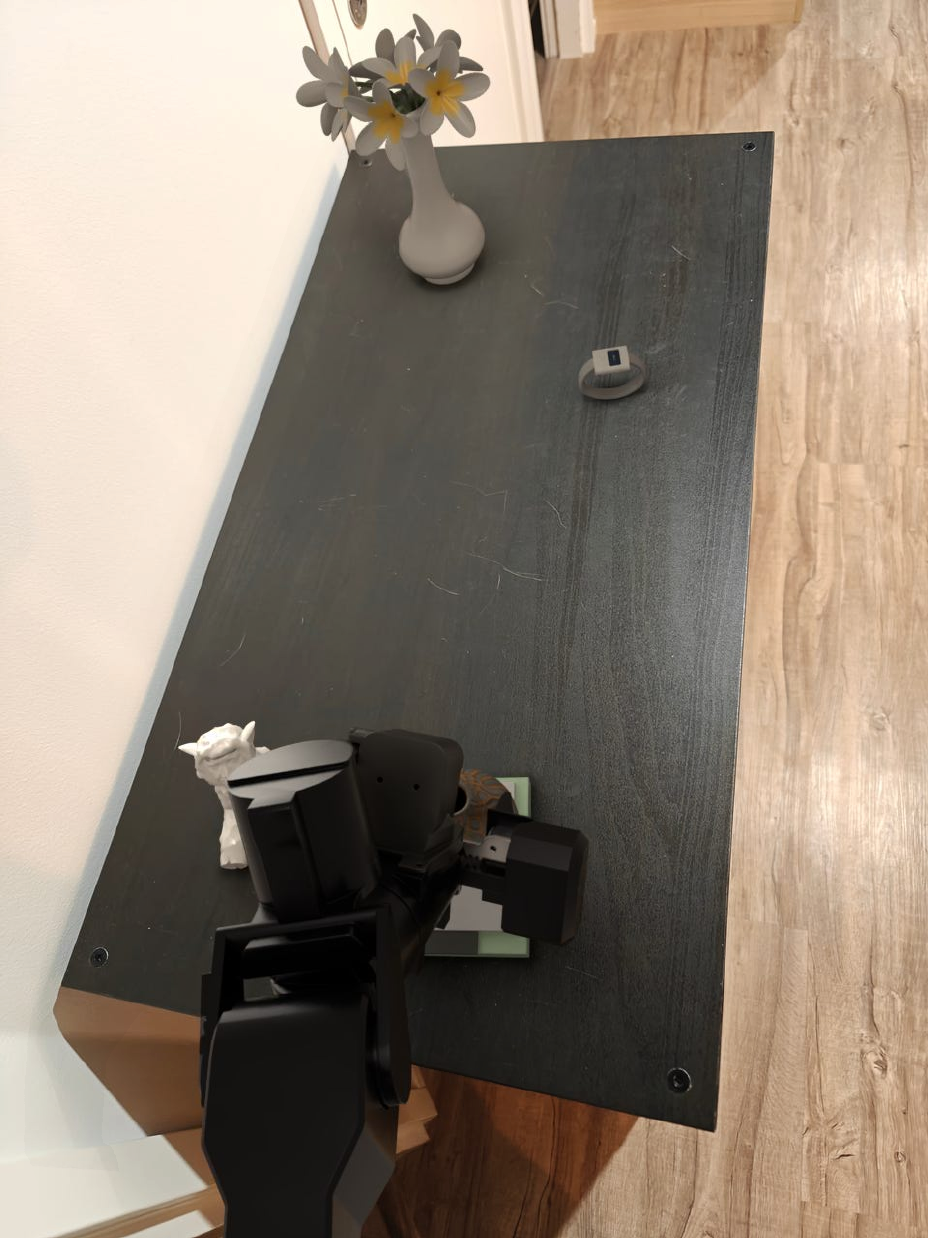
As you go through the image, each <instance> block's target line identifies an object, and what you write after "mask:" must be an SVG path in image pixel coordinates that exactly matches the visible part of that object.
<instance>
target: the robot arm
mask: <svg viewBox="0 0 928 1238" xmlns="http://www.w3.org/2000/svg"><path fill="white" fill-rule="evenodd" d="M269 750H270V751H268V752H265V753H263V754H260V755H258V756H256V757H254V758H252V759H250V760H248V761H246V762H245V763H243V764H242V765H240V766H239V767H237V768H236V769H235V770H234V771H233V772H231V773H230V774H229V776H228V778H227V783H228V784H227V790H228V794H229V797H230V801H231V805H232V808H233V812H234V815H235V819H236V823H237V826H238V830H239V833H240V837H241V841H242V844H243V848H244V851H245V855H246V859H247V862H248V865H247V867H248V869H249V873H250V876H251V880H252V884H253V887H254V891H255V894H256V898H257V902H258V907H257V910H256V913H255V915H254V916H253V918H252V920H251V922H247V923H240V924H232V925H225V926H218V927H217V928H216V929H215V932H214V942H213V951H212V960H211V969H210V972H204V973H201V987H200V1020H199V1049H198V1050H199V1051H198V1052H199V1053H198V1077H197V1078H198V1089H199V1092H200V1094H201V1095H200V1096H201V1097H200V1105H201V1108H202V1110H203V1116H202V1125H201V1134H200V1135H201V1136H200V1146H201V1147H200V1148H201V1151H202V1153H203V1156H204V1158H205V1161H206V1162H207V1165H208V1168H209V1170H210V1174H211V1175H212V1178H213V1181H214V1183H215V1185H216V1188H217V1190H218V1192H219V1195H220V1197H221V1200H222V1202H223V1206H224V1215H223V1229H222V1238H361V1235H362V1234H361V1233H362V1228H363V1225H364V1224H365V1223H366V1221H367V1219H368V1218H369V1215H370V1213H371V1211H372V1210H373V1208H374V1206H375V1205H376V1203H377V1202H378V1200H379V1198H380V1196H381V1194H382V1193H383V1191H384V1189H385V1187H386V1185H387V1184H388V1182H389V1181H390V1179H391V1177H392V1175H393V1173H394V1172H395V1168H396V1164H397V1163H396V1162H397V1150H398V1149H397V1146H398V1131H399V1116H400V1106H403V1105H406V1104H407V1103H408V1102H409V1100H410V1095H411V1089H412V1079H413V1078H412V1075H413V1074H412V1073H413V1072H412V1070H413V1069H412V1068H413V1067H412V1065H413V1064H412V1051H411V1041H410V1029H409V1019H408V1010H407V999H406V987H405V980H406V978H407V976H408V975H410V976H413V977H418V976H419V975H420V973H421V971H422V969H423V967H424V966H425V959H426V956H425V944H426V943H427V941H428V939H429V937H430V936H431V934H432V932H433V931H434V929H435V928H439V929H443V930H444V929H445V927H446V926H447V924H448V922H449V920H450V911H451V900H452V898H453V897H454V895H455V896H457V895H459V894H460V892H461V889H462V885H463V886H467V887H472V888H476V889H480V890H482V901H485V902H489V903H494V904H498V905H502V917H501V929H502V930H503V932H504V933H508V934H512V935H516V936H520V937H524V938H529V940H533V941H537V942H541V943H546V944H550V945H553V946H558V947H562V948H564V947H565V946H567V945H569V943H571V942H572V941H573V940H575V939H576V938H577V937H576V936H577V934H578V931H579V928H580V926H581V922H582V915H583V906H584V897H585V895H584V894H585V888H586V880H587V879H586V878H587V867H588V858H589V849H590V841H589V839H588V838H587V837H586V836H585V834H584V833H583V831H581V830H580V829H575V828H571V827H565V826H562V825H556V824H551V823H548V822H541V821H537V820H535V819H534V818H532V816H531V817H528V816H524V815H519V814H514V813H513V805H512V794H511V792H507V791H505V792H504V793H503V794H502V795H501V797H500V798H499V800H498V802H497V805H496V807H495V809H490V808H488V811H487V826H486V837H485V838H484V840H483V841H482V842H476V841H472V840H467V839H463V834H464V826H461V825H456V824H455V822H454V819H453V816H454V811H455V805H456V799H457V792H458V786H459V780H460V773H461V770H462V769H463V767H464V759H465V756H464V751H463V748H462V746H461V745H460V743H459V742H457V741H456V740H454V739H452V738H449V737H444V736H436V735H431V734H427V733H420V732H415V731H410V730H406V729H401V728H393V729H392V728H391V729H386V730H379V731H378V730H373V729H367V728H363V727H357V726H352V727H351V728H350V730H349V733H348V737H347V738H346V739H342V738H338V739H329V738H327V739H325V738H324V739H312V740H305V741H300V742H295V743H291V744H287V745H283V746H280V747H277V748H273V749H269ZM263 978H269V983H270V988H271V990H272V994H271V995H263V996H255V997H249V998H245V981H244V980H249V981H250V980H256V979H263Z"/></svg>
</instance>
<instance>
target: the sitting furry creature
mask: <svg viewBox="0 0 928 1238" xmlns="http://www.w3.org/2000/svg"><path fill="white" fill-rule="evenodd" d="M255 725H256V721H254V720H252V721H250V722H248V723H247V725H245V727H244V728H242V727H240V726H239V725H234V724H233V723H230V722H229V723H228V722H227V723H225V724H224V725H221V726H214V727H213V728H212V729H211V730H209V731H207V732H205V733H203V734H201V736H200V737H199V739H198V740H197V741H196V742H188V743H185V744H182V745H179V746H178V749H179V750H180V751H182V752H184V753H186V754H189V755H191V756H192V757H193V756H194V757H193V758H194V763H195V764H194V769H196V776H197V777H198V779H203V780H204V781H205V782H207V783H208V785H209V786H214V792H215V794H217V798H218V799H219V801H220V803H221V806H222V808H223V821H222V830H221V834H220V836H219V839H218V842H219V843H220V849H219V850H220V858H219V861H220V868H223V869H228V870H236V869H240V870H241V869H244V868H247V867H248V862H247V859H246V855H245V851H244V848H243V844H242V841H241V837H240V833H239V830H238V826H237V823H236V819H235V815H234V812H233V808H232V805H231V801H230V797H229V794H228V790H227V784H228V783H227V778H228V776H229V774H230V773H231V772H233V771H234V770H235V769H236V768H237V767H239V766H240V765H242V764H243V763H245V762H246V761H248V760H250V759H252V758H254V757H256V756H258V755H260V754H263V753H265V752H268V751H270V750H271V749H269V748H268V747H267V746H262V747H259V746H258V747H257V746H256V747H255V745H254V741H255V737H256V731H255Z"/></svg>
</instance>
